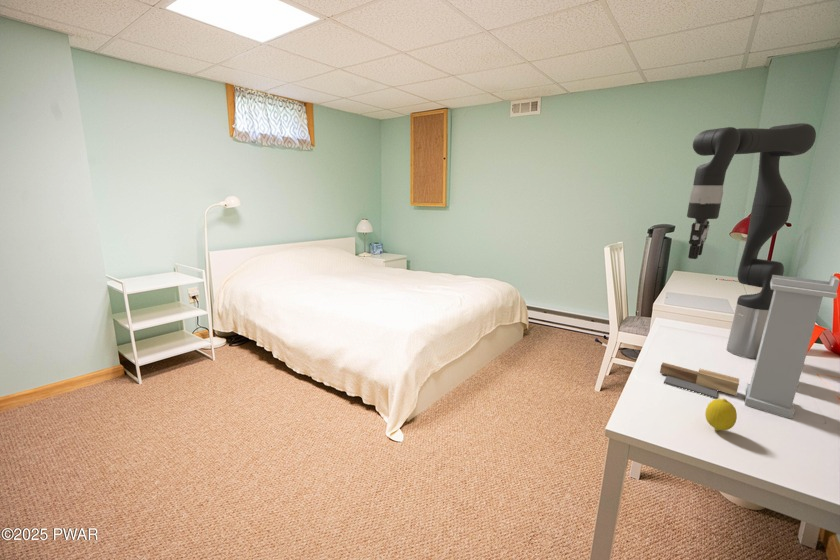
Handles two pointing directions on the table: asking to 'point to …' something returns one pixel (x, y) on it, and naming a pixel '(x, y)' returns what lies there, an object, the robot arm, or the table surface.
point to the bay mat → (690, 386)
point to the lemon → (721, 414)
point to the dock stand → (786, 342)
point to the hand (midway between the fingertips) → (694, 256)
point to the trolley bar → (703, 378)
